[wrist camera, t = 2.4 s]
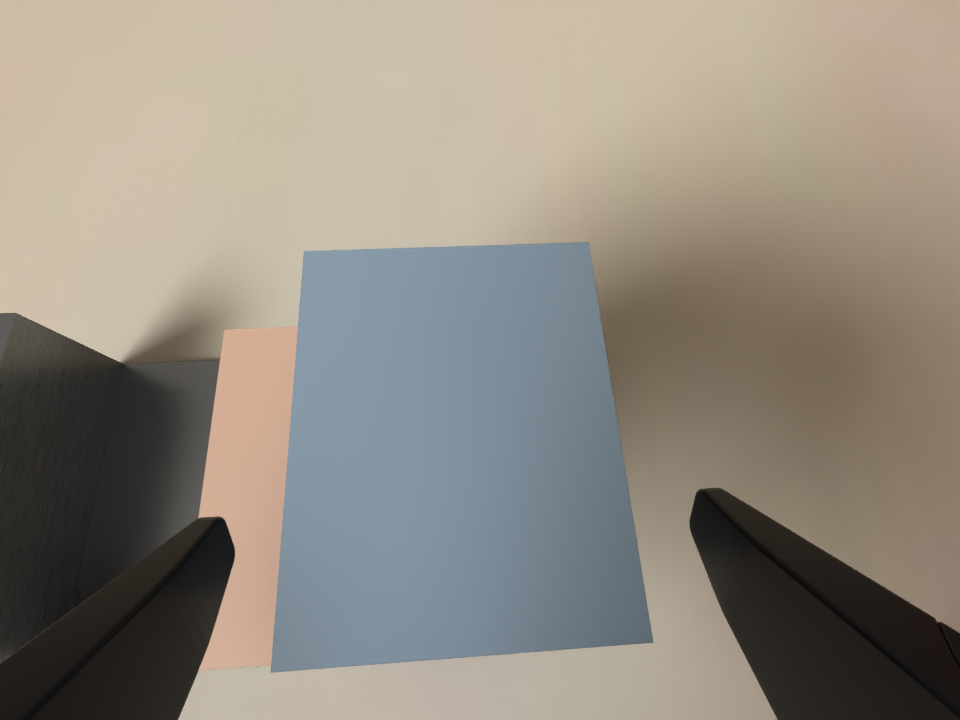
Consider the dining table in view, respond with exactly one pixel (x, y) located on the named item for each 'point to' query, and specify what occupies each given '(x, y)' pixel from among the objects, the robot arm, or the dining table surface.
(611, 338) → the dining table surface
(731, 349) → the dining table surface
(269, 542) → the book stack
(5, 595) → the steel bookend
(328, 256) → the blue-grey rectangular block
